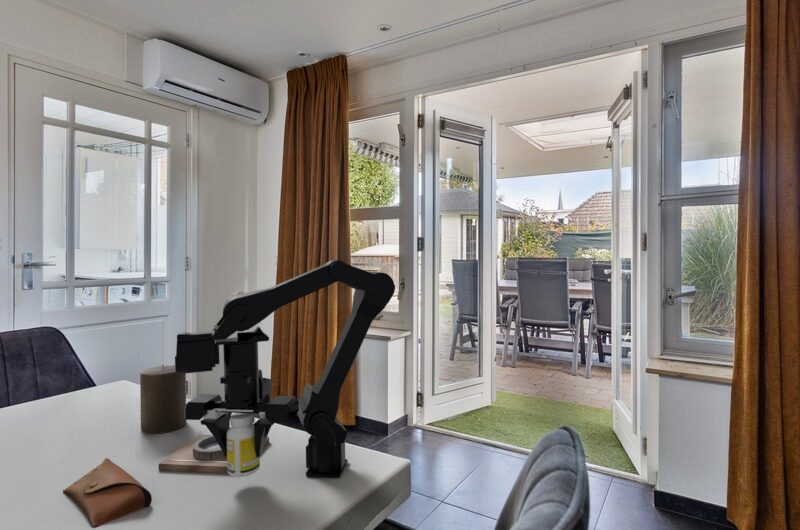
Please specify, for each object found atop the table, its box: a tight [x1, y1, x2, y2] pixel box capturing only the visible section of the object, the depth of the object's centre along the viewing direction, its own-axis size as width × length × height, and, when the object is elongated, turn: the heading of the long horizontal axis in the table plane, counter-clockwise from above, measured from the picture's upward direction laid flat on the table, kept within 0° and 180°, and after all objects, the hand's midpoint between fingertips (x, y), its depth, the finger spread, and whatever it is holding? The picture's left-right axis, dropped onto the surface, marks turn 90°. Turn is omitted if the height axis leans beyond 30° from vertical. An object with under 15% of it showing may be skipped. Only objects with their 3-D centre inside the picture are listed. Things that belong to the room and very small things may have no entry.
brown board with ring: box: [158, 434, 270, 474], centre depth 92 cm, size 16×14×3 cm
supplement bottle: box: [227, 413, 261, 478], centre depth 80 cm, size 5×5×10 cm
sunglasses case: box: [62, 457, 153, 527], centre depth 77 cm, size 18×7×7 cm, turn 51°
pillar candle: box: [139, 364, 187, 435], centre depth 108 cm, size 10×10×15 cm
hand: (243, 456), depth 80 cm, fingers closed on supplement bottle, 5 cm apart
